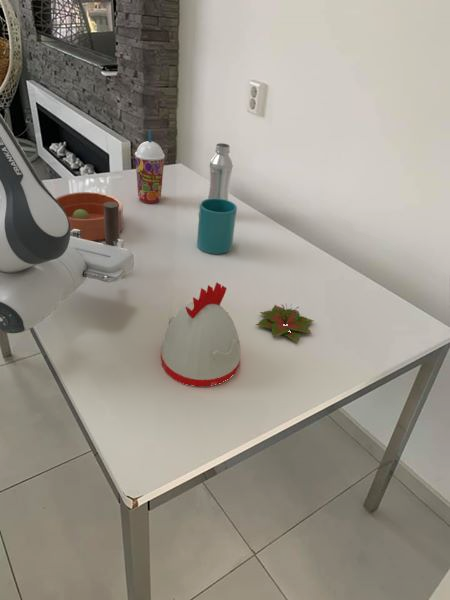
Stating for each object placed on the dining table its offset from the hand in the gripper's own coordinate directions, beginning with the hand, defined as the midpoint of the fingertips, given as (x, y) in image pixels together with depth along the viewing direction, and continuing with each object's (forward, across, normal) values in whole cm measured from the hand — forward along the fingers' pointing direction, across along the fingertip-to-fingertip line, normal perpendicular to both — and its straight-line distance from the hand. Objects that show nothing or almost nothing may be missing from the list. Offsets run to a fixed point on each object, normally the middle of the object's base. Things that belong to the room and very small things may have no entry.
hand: (99, 237), depth 91 cm
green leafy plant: (+1, -40, +11) cm, 41 cm away
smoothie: (+46, +10, +11) cm, 49 cm away
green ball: (+22, +18, +8) cm, 29 cm away
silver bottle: (+46, -12, +11) cm, 49 cm away
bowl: (+22, +16, +11) cm, 29 cm away
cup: (+28, -16, +11) cm, 34 cm away
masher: (+5, 0, +11) cm, 12 cm away
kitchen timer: (-15, -27, +11) cm, 33 cm away
